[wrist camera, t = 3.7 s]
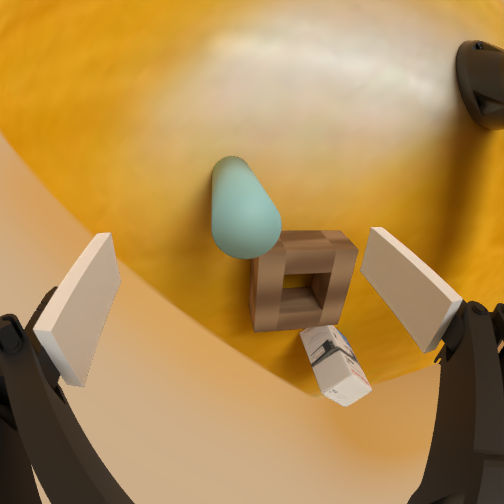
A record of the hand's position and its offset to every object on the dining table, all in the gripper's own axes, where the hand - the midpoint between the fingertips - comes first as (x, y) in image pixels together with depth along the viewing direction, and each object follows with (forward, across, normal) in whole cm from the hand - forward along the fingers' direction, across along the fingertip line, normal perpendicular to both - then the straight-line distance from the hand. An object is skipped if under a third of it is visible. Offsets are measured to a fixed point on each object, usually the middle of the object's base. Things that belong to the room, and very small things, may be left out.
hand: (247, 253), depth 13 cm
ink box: (+17, +16, -25) cm, 34 cm away
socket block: (+17, +8, -12) cm, 22 cm away
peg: (+17, 0, 0) cm, 17 cm away
